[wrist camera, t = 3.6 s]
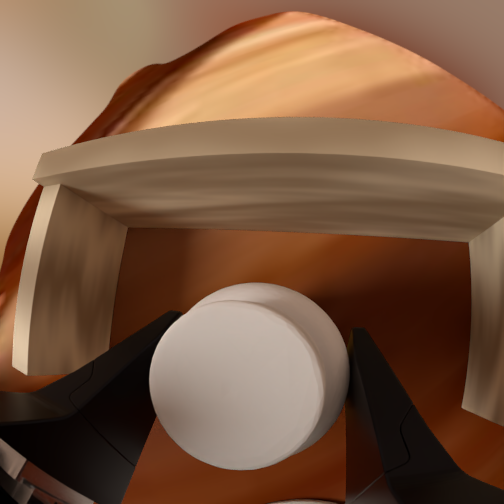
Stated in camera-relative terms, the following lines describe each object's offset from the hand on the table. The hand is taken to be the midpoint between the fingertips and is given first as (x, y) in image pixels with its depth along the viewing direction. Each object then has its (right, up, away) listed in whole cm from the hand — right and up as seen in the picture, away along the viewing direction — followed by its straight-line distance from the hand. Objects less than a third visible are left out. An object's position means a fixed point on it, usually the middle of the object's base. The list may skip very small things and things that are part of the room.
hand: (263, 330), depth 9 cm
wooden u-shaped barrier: (+1, 0, +7) cm, 7 cm away
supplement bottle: (+1, -3, +6) cm, 7 cm away
